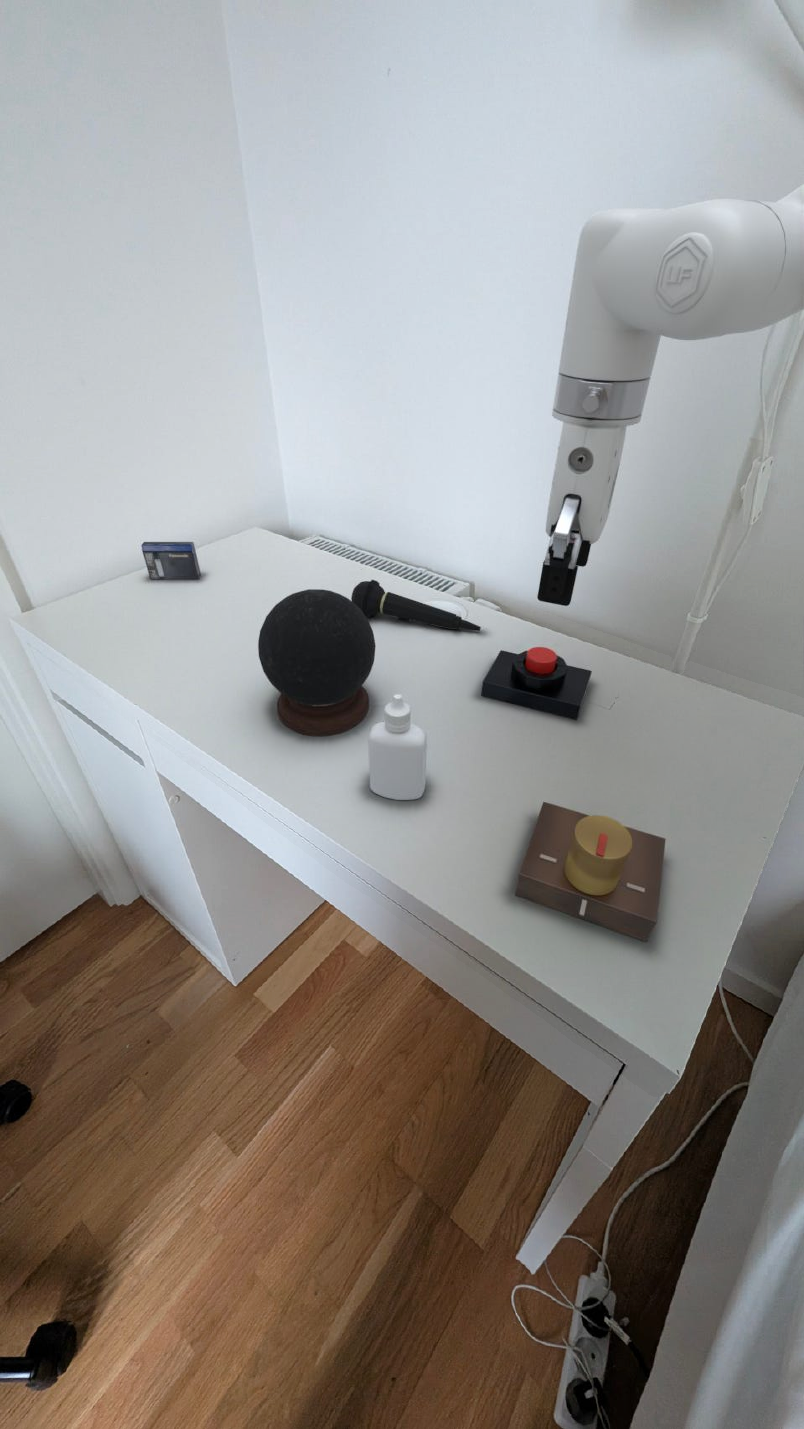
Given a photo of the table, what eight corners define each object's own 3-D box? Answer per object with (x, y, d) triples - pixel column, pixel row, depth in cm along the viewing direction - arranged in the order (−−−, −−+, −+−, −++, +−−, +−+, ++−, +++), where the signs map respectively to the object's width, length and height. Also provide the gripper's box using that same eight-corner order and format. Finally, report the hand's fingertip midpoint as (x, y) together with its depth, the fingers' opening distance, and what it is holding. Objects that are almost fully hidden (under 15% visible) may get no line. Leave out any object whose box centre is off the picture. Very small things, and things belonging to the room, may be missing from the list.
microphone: (477, 643, 88) (355, 609, 91) (487, 606, 86) (362, 573, 89) (472, 651, 83) (343, 615, 86) (483, 613, 81) (350, 577, 84)
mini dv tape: (150, 579, 98) (140, 545, 94) (153, 575, 99) (143, 541, 96) (198, 579, 98) (190, 545, 95) (201, 575, 99) (193, 541, 96)
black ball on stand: (312, 665, 78) (300, 560, 69) (397, 694, 73) (396, 585, 64) (246, 718, 69) (222, 606, 60) (337, 756, 64) (326, 639, 55)
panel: (656, 859, 53) (666, 837, 51) (644, 962, 46) (655, 940, 44) (538, 822, 57) (543, 799, 55) (508, 911, 49) (513, 889, 47)
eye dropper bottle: (391, 765, 63) (390, 674, 55) (431, 789, 60) (436, 697, 53) (363, 787, 60) (358, 695, 53) (404, 813, 57) (405, 720, 50)
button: (557, 662, 72) (559, 650, 71) (551, 677, 70) (553, 665, 69) (529, 656, 73) (531, 644, 72) (521, 670, 71) (523, 658, 70)
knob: (569, 845, 51) (580, 805, 48) (621, 861, 49) (636, 822, 46) (559, 884, 48) (570, 845, 44) (614, 903, 46) (630, 864, 43)
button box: (588, 684, 75) (595, 658, 72) (576, 720, 69) (583, 693, 67) (498, 663, 79) (502, 638, 76) (480, 695, 73) (483, 669, 70)
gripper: (633, 425, 42) (585, 628, 53) (652, 385, 55) (610, 556, 66) (532, 415, 45) (506, 612, 55) (573, 379, 57) (545, 546, 68)
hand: (563, 581), depth 61 cm, fingers open, 9 cm apart
